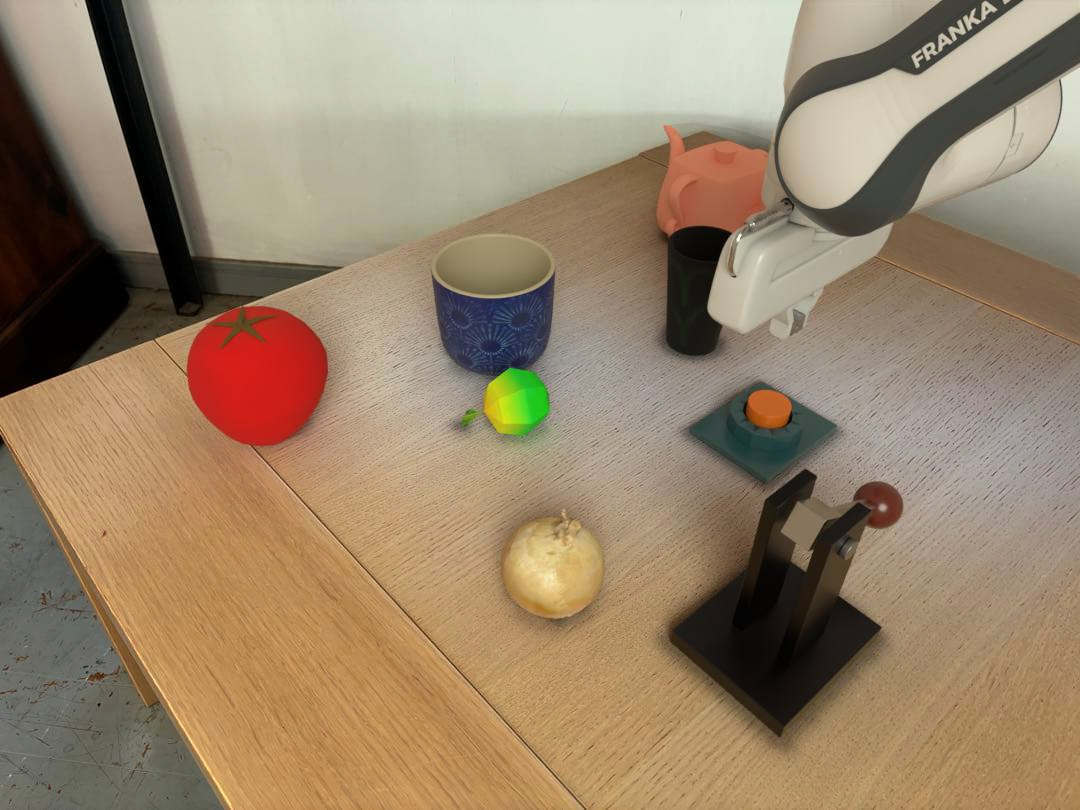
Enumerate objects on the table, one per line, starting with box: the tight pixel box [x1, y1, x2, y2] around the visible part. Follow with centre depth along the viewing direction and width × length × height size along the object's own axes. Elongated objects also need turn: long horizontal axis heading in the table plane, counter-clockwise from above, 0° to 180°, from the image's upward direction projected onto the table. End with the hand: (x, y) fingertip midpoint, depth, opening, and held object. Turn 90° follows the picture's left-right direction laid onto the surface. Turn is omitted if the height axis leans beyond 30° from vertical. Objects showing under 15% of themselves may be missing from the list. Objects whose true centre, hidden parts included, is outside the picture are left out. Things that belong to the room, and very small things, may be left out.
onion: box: [500, 508, 606, 620], centre depth 63 cm, size 8×8×7 cm
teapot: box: [655, 124, 769, 238], centre depth 104 cm, size 15×17×13 cm
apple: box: [460, 368, 551, 437], centre depth 78 cm, size 7×6×9 cm
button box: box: [689, 380, 838, 485], centre depth 79 cm, size 11×9×2 cm
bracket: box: [669, 468, 883, 738], centre depth 57 cm, size 12×10×15 cm
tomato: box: [186, 304, 329, 447], centre depth 76 cm, size 12×12×13 cm
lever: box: [780, 480, 905, 552], centre depth 58 cm, size 15×4×4 cm, turn 131°
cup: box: [665, 226, 733, 357], centre depth 87 cm, size 8×8×12 cm
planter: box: [430, 232, 557, 376], centre depth 86 cm, size 12×12×11 cm
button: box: [746, 390, 792, 429], centre depth 78 cm, size 4×4×2 cm
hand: (786, 331), depth 72 cm, fingers closed
